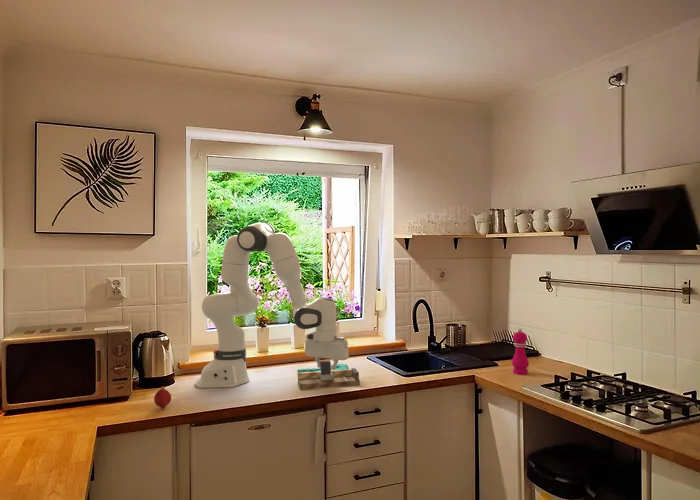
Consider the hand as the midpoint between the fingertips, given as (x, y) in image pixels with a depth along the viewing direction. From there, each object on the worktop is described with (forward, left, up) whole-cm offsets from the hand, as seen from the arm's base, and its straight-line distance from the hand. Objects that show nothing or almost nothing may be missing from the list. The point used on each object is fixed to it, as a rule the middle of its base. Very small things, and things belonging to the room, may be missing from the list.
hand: (326, 368), depth 219 cm
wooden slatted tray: (+1, 0, -7) cm, 7 cm away
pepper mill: (+87, -4, -7) cm, 87 cm away
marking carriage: (0, 0, -4) cm, 4 cm away
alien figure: (+4, +20, -7) cm, 21 cm away
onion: (-63, -17, -7) cm, 66 cm away
